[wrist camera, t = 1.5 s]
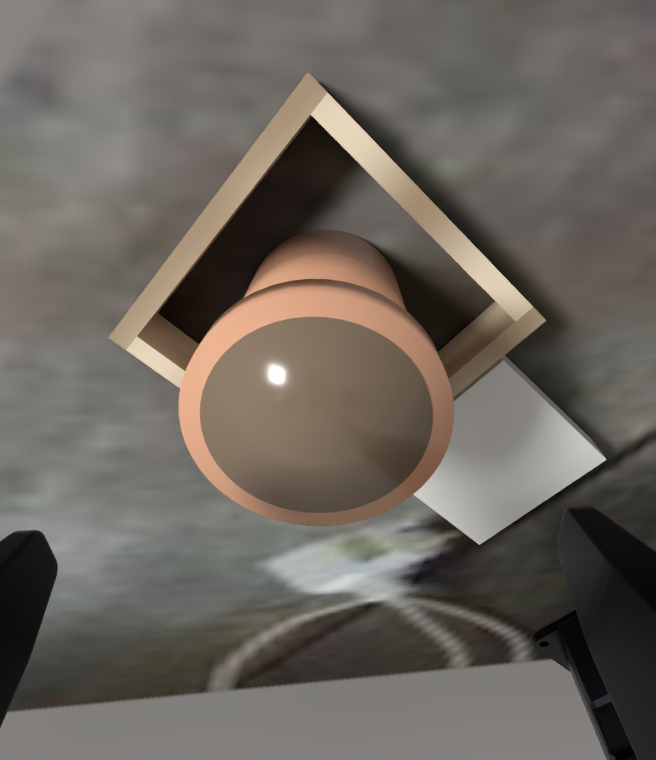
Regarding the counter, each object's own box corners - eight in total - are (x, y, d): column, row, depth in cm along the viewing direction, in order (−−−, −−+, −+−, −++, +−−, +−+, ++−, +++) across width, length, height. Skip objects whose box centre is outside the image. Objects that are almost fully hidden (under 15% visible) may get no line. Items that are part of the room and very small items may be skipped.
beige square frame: (524, 298, 18) (546, 320, 16) (333, 463, 22) (333, 497, 20) (311, 76, 15) (307, 72, 13) (131, 314, 19) (108, 337, 17)
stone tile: (590, 437, 21) (606, 459, 20) (471, 520, 24) (479, 544, 22) (492, 343, 19) (503, 360, 18) (373, 443, 22) (375, 465, 20)
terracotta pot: (446, 300, 18) (512, 420, 11) (330, 408, 21) (326, 562, 14) (317, 176, 17) (301, 226, 9) (205, 310, 19) (125, 431, 12)
